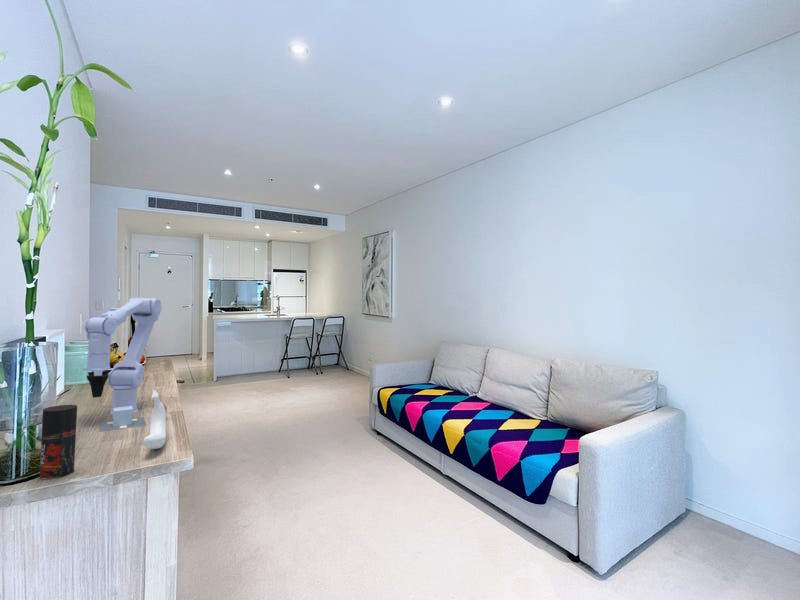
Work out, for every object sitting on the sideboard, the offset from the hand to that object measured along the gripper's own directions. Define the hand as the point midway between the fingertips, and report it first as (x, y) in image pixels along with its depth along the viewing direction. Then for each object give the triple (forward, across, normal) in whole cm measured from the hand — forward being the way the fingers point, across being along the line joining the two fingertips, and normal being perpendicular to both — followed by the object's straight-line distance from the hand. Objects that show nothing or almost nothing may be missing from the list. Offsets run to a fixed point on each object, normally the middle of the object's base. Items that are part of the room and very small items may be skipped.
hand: (97, 394), depth 126 cm
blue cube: (+9, +7, +7) cm, 13 cm away
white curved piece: (+10, +36, +14) cm, 39 cm away
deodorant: (+10, +43, -6) cm, 45 cm away
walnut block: (+7, +7, +15) cm, 18 cm away
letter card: (+9, +7, +7) cm, 14 cm away
